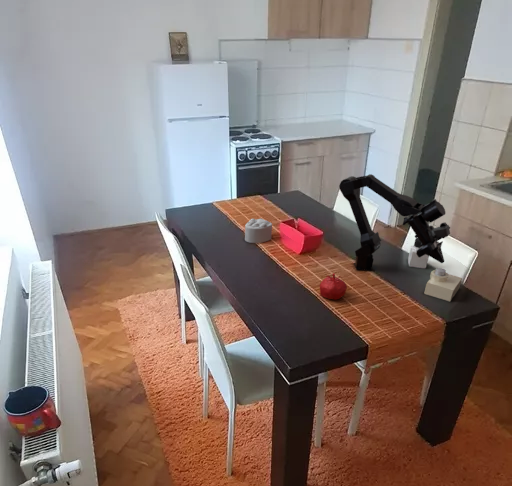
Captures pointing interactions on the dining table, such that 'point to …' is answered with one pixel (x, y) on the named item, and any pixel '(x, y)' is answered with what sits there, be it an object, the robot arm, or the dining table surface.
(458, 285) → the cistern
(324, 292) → the pomegranate
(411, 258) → the medicine bottle
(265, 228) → the lumpy-topped squat cylinder
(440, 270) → the flush button
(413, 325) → the dining table surface
